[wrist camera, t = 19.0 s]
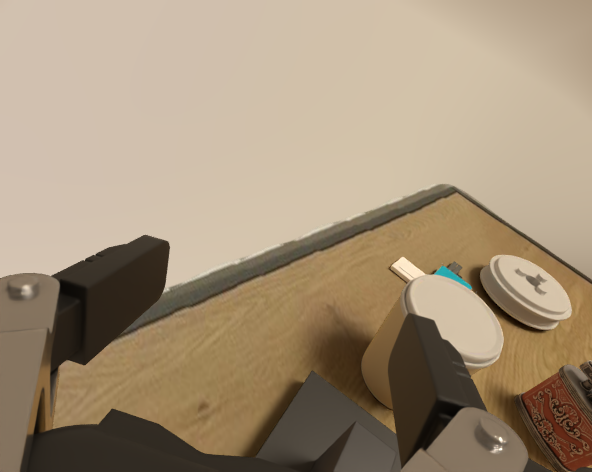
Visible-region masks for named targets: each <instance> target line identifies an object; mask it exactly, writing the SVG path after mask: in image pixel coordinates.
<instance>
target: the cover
mask: <svg viewBox="0 0 592 472" xmlns="http://www.w3.org/2000/svg"><path fill="white" fill-rule="evenodd" d="M255 458H261V459H264V460H267V461H270V462H273V463H276V464H279V465H282V466H285V467H288V468H291V469H294V470H297V471H300V472H400V471H401V462H400V455H399V448H398V441H397V434H395V433H394V432H393V431H391V430H390V429H389V428H387V427H386V426H385V425H383V424H382V423H381V422H379V421H378V420H377V419H376V418H374V417H373V416H372V415H370V414H369V413H368V412H366V411H365V410H364V409H362V408H361V407H360V406H358V405H357V404H356V403H355V402H353V401H352V400H351V399H349V398H348V397H347V396H345V395H344V394H343V393H341V392H340V391H339V390H337V389H336V388H335V387H334V386H332V385H331V384H330V383H328V382H327V381H326V380H324V379H323V378H322V377H320V376H319V375H318V374H316V373H315V372H314V371H311V373H310V374H309V376H308V377H307V379H306V380H305V382H304V383H303V385H302V387H301V388H300V390H299V391H298V393H297V394H296V396H295V397H294V399H293V400H292V402H291V403H290V405H289V406H288V408H287V409H286V411H285V412H284V414H283V415H282V417H281V418H280V420H279V421H278V423H277V424H276V426H275V428H274V429H273V431H272V432H271V434H270V435H269V437H268V438H267V440H266V441H265V443H264V444H263V446H262V447H261V449H260V450H259V452H258V453H257V455H256V456H255Z"/></svg>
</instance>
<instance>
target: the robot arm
mask: <svg viewBox="0 0 592 472" xmlns="http://www.w3.org/2000/svg"><path fill="white" fill-rule="evenodd" d="M169 249H170V246H169V243H168V241H165V240H162V239H158V238H154V237H151V236H148V235H143V236H141V237H140V238H138V239H136V240H134V241H132V242H130V243H128V244H123V245H118V246H113V247H109V248H107V249H105V250H103V251H101V252H98V253H97V254H96V255H92V256H91V257H88V258H86V259H85V261H84V260H83V261H80V262H78V263H76V264H74V265H72V266H70V267H68V268H66V269H64V270H62V271H60V272H58V273H56V274H54V275H52V276H48V275H44V274H37V273H23V274H15V275H9V276H6V277H3V278H0V472H300V471H297V470H294V469H291V468H288V467H285V466H282V465H279V464H276V463H273V462H270V461H267V460H264V459H261V458H253V457H239V456H225V455H212V454H205V453H202V452H200V451H198V450H196V449H195V448H193V447H192V446H191V445H189V444H188V443H186V442H185V441H183V440H182V439H180V438H179V437H177V436H176V435H174V434H173V433H171V432H170V431H168V430H167V429H165V428H164V427H162V426H161V425H159V424H157V423H154V422H151V421H148V420H145V419H142V418H139V417H136V416H133V415H130V414H127V413H124V412H121V411H118V410H115V409H111V411H110V412H109V413H108V414H107V415H106V416H105V418H104V419H103V420H102V421H101V422H100V423H99V425H97V424H87V425H73V426H65V427H60V428H56V429H52V428H53V420H54V412H55V405H56V397H57V389H58V382H59V366H60V365H61V364H62V363H63V362H64V361H66V360H70V361H73V362H76V363H79V364H82V365H86V364H87V363H88V362H89V361H90V360H92V359H93V358H94V357H95V356H96V355H97V354H98V353H99V352H101V351H102V350H103V349H104V348H105V347H106V346H107V345H108V344H109V343H111V342H112V341H113V340H114V339H115V338H116V337H117V336H118V335H120V334H121V333H122V332H123V331H124V330H125V329H126V328H127V327H129V326H130V325H131V324H132V323H133V322H134V321H135V320H136V319H138V318H139V317H140V316H141V315H142V314H143V313H144V312H145V311H147V310H148V309H149V308H150V307H151V306H152V305H153V304H154V303H156V302H157V301H158V299H159V298H160V296H161V295H162V293H163V290H164V287H165V283H166V274H167V267H168V258H169ZM388 378H389V385H390V392H391V399H392V406H393V413H394V420H395V427H396V434H397V441H398V448H399V455H400V462H401V471H400V472H552V471H551V470H549V469H547V468H545V467H543V466H541V465H540V464H538V463H536V462H534V461H533V460H531V459H529V458H528V452H527V449H526V447H525V445H524V443H523V442H522V440H521V439H520V437H519V436H518V435H517V434H516V433H515V432H514V431H513V429H512V428H510V427H509V426H508V425H507V424H506V423H505V422H503V421H502V420H501V419H499V418H497V417H496V416H494V415H492V414H491V413H489V412H487V409H486V407H485V405H484V403H483V401H482V399H481V397H480V395H479V392H478V390H477V388H476V386H475V384H474V382H473V380H472V379H471V376H470V373H469V371H468V369H467V368H466V365H465V363H464V361H463V359H462V356H461V354H460V353H459V352H458V351H457V349H456V348H455V347H454V346H453V345H452V344H451V343H450V342H449V341H448V340H445V339H442V337H441V334H440V332H439V330H438V327H437V325H436V323H435V321H434V320H433V319H429V318H426V317H422V316H419V315H416V314H412V313H409V314H407V316H406V317H405V320H404V322H403V324H402V327H401V329H400V332H399V334H398V337H397V339H396V342H395V344H394V346H393V349H392V351H391V354H390V358H389V362H388ZM575 472H592V468H588V467H580V468H578V469H577V470H576V471H575Z"/></svg>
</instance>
